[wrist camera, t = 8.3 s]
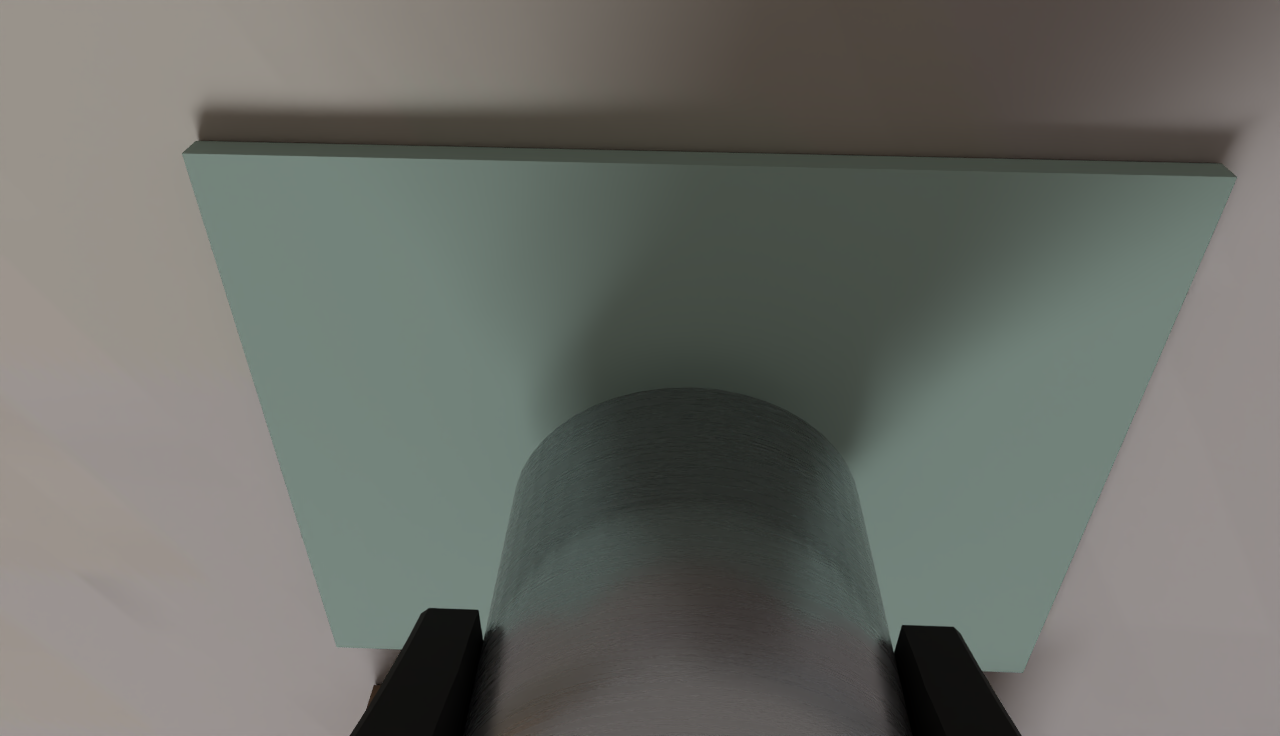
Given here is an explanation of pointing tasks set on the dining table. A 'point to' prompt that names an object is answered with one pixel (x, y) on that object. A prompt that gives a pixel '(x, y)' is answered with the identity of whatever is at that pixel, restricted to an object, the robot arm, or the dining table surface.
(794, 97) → the dining table surface
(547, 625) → the metal cylinder
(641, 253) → the mat
